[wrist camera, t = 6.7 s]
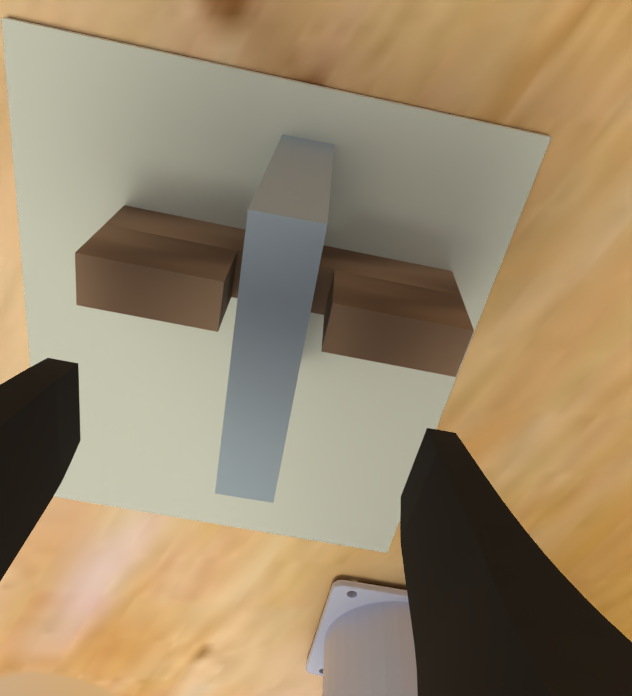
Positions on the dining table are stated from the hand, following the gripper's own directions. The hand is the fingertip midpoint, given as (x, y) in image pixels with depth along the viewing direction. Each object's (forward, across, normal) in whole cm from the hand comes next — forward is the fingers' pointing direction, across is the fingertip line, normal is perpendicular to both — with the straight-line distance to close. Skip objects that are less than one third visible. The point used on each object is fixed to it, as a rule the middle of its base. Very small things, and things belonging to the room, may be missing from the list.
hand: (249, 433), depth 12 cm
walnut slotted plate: (+9, 0, 0) cm, 9 cm away
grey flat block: (+9, 0, 0) cm, 9 cm away
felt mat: (+9, +1, +4) cm, 10 cm away
